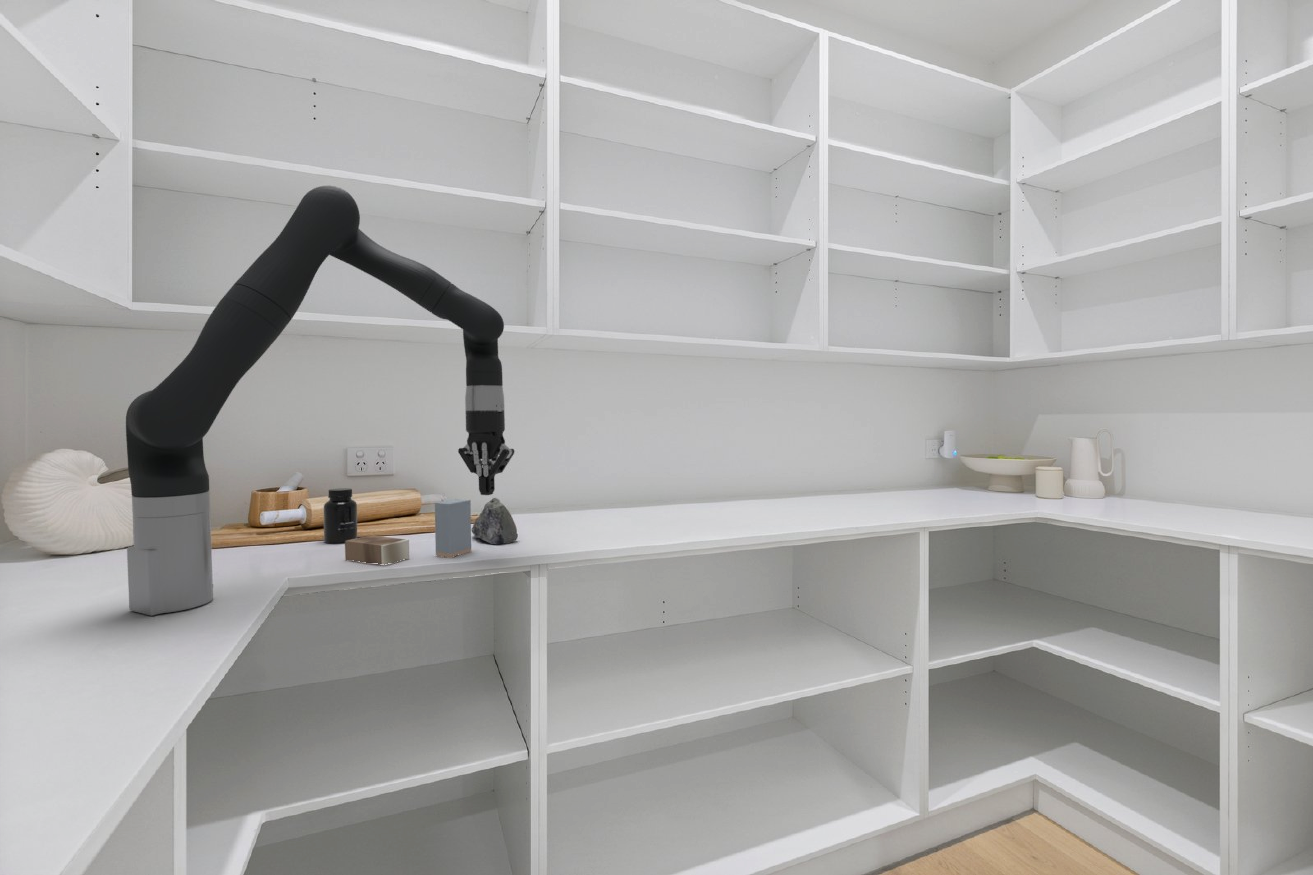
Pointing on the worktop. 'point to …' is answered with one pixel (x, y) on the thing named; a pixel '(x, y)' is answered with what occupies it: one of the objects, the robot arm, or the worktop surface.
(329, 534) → the supplement bottle
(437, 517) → the slate block
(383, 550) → the walnut block
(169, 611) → the robot arm
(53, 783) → the worktop surface
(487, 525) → the mineral rock
